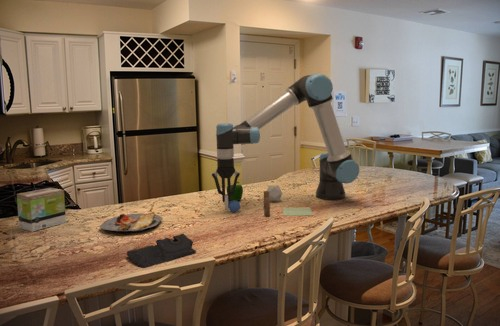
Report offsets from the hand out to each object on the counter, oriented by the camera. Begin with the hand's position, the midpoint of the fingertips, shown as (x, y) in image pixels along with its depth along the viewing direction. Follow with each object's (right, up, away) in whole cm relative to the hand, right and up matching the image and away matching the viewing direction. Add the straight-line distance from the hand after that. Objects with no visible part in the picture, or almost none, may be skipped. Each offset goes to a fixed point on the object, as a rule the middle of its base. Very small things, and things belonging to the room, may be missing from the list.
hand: (226, 208), depth 185 cm
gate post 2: (+18, -2, -7) cm, 19 cm away
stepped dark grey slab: (-19, -11, -49) cm, 53 cm away
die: (+23, +2, +19) cm, 30 cm away
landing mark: (+32, -1, -1) cm, 32 cm away
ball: (+3, +1, 0) cm, 4 cm away
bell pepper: (+3, +2, +21) cm, 21 cm away
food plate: (-38, -6, -18) cm, 42 cm away
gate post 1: (+18, 0, +6) cm, 19 cm away
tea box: (-76, -6, -16) cm, 78 cm away
